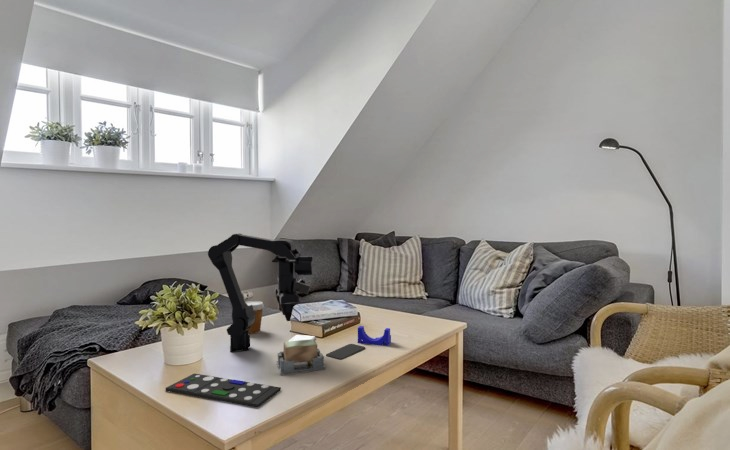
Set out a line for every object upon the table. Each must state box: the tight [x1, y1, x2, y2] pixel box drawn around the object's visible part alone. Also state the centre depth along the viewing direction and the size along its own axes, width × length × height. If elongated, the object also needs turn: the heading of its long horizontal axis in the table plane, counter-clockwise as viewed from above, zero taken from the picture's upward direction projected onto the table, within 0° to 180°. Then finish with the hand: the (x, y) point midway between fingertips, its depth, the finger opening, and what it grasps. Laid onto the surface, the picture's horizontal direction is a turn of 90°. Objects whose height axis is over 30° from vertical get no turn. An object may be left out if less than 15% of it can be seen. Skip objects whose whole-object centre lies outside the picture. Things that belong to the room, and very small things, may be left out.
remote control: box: [165, 373, 282, 409], centre depth 118 cm, size 11×30×2 cm, turn 70°
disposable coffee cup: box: [245, 300, 265, 335], centre depth 176 cm, size 10×10×12 cm
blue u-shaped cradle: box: [357, 325, 392, 347], centre depth 161 cm, size 12×4×6 cm, turn 73°
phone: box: [325, 343, 366, 361], centre depth 151 cm, size 7×1×15 cm
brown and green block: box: [283, 339, 318, 363], centre depth 136 cm, size 10×6×5 cm, turn 108°
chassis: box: [276, 348, 326, 376], centre depth 136 cm, size 14×10×4 cm
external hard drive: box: [287, 334, 316, 342], centre depth 161 cm, size 2×8×12 cm
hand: (286, 317), depth 151 cm, fingers open, 9 cm apart
